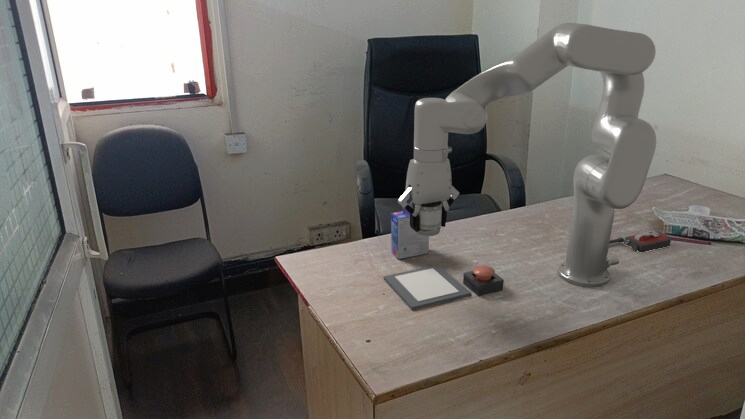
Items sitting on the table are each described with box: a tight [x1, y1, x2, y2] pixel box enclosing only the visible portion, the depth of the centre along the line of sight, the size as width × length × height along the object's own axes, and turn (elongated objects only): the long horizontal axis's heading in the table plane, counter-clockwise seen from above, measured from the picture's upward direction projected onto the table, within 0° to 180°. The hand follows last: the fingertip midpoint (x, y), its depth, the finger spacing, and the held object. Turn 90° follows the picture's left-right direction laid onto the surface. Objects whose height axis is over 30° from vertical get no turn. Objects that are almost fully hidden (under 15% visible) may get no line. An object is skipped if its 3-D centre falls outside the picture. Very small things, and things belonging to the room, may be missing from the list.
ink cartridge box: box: [390, 202, 430, 260], centre depth 149 cm, size 10×6×14 cm, turn 113°
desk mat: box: [383, 264, 472, 311], centre depth 133 cm, size 16×16×1 cm
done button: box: [472, 265, 496, 282], centre depth 132 cm, size 5×5×3 cm
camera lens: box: [417, 202, 442, 237], centre depth 127 cm, size 6×6×8 cm
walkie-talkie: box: [609, 230, 672, 253], centre depth 154 cm, size 9×4×20 cm
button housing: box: [462, 270, 505, 297], centre depth 133 cm, size 7×7×3 cm
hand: (428, 226), depth 128 cm, fingers closed on camera lens, 6 cm apart
